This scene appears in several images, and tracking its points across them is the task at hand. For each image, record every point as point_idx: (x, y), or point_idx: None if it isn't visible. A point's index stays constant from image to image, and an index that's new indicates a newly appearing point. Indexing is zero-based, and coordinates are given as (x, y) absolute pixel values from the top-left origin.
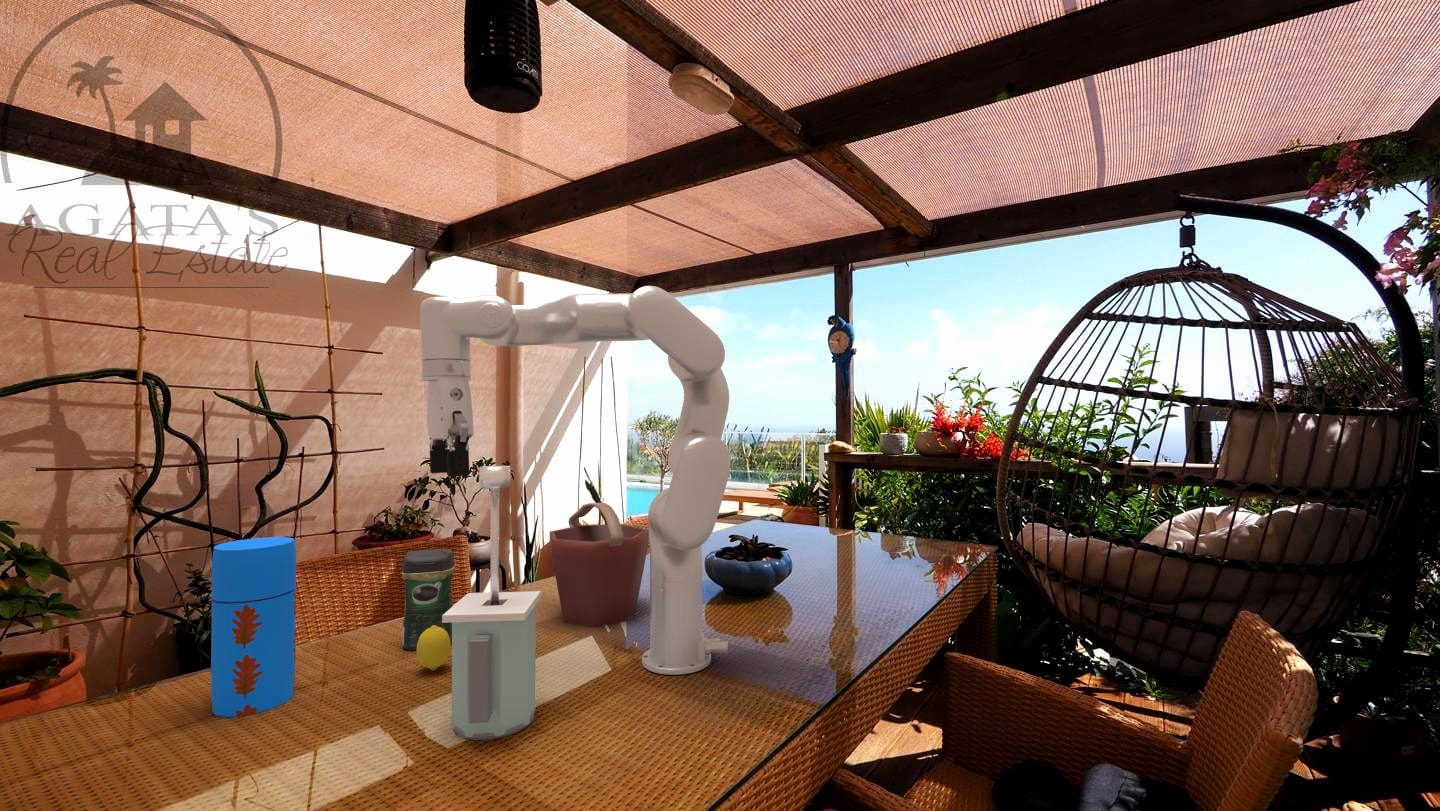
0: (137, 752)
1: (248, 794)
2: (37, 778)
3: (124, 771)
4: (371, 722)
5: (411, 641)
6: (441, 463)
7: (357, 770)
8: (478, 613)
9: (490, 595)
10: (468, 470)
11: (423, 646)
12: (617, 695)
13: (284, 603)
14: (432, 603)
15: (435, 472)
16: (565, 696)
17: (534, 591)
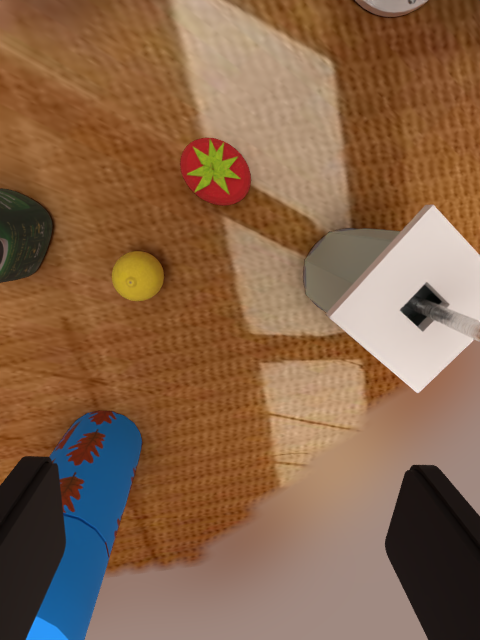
0: (165, 513)
1: (307, 458)
2: (165, 556)
3: (197, 518)
4: (249, 367)
5: (33, 270)
6: (29, 560)
7: (335, 396)
8: (455, 350)
9: (428, 317)
10: (448, 485)
11: (150, 297)
12: (407, 118)
13: (98, 514)
14: (8, 247)
15: (64, 533)
16: (355, 175)
17: (424, 216)
